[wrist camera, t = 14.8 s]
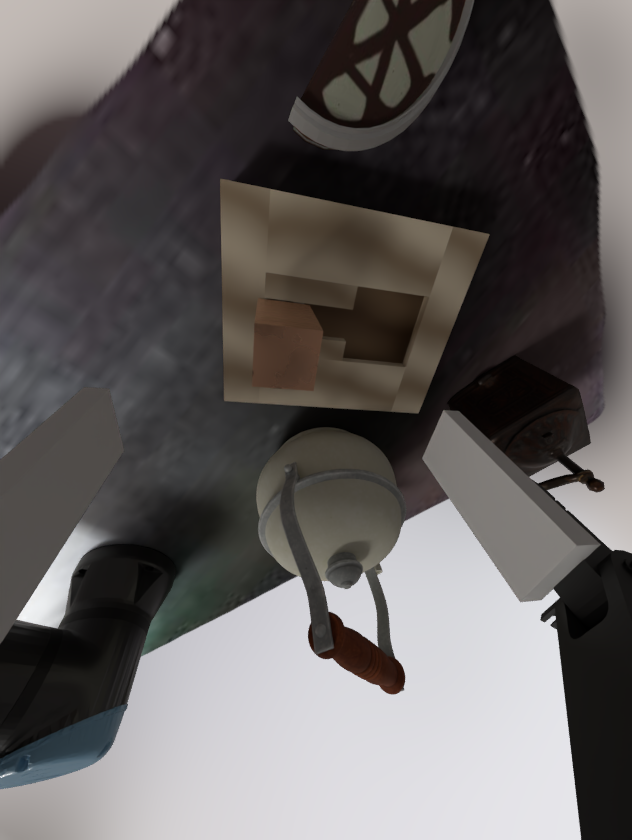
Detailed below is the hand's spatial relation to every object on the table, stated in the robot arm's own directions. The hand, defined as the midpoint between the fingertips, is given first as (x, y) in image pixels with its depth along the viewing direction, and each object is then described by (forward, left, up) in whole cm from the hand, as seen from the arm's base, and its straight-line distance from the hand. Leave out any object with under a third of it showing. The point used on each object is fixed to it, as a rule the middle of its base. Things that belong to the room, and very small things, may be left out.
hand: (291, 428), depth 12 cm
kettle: (-23, -9, -23) cm, 33 cm away
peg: (0, 0, -21) cm, 21 cm away
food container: (+16, -5, -23) cm, 28 cm away
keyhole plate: (0, -6, -22) cm, 23 cm away
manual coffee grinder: (-11, -29, -23) cm, 38 cm away
